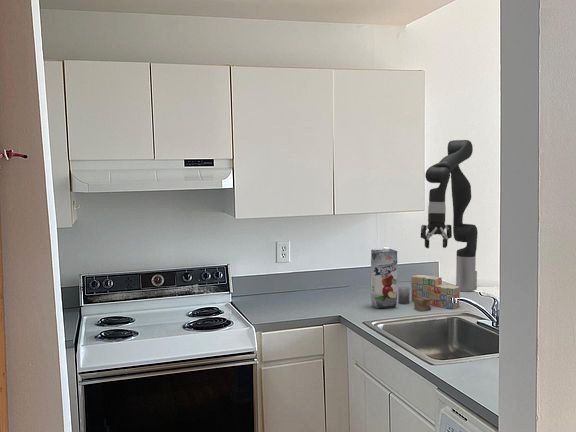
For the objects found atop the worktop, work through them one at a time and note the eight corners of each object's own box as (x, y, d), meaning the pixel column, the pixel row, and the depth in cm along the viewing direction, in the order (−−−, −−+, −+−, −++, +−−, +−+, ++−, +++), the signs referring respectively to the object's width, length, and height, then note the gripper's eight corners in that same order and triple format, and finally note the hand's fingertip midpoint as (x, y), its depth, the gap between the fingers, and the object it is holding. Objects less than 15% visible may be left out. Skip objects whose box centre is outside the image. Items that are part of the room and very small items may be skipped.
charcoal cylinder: (405, 301, 279) (405, 286, 278) (411, 303, 274) (411, 288, 274) (396, 302, 277) (396, 287, 276) (402, 304, 272) (402, 289, 272)
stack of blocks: (459, 307, 267) (460, 279, 266) (452, 309, 263) (452, 282, 262) (418, 299, 282) (418, 273, 281) (410, 302, 278) (411, 275, 277)
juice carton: (368, 305, 272) (369, 246, 269) (389, 303, 275) (390, 245, 272) (377, 309, 263) (377, 248, 261) (399, 307, 266) (399, 247, 264)
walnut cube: (423, 308, 266) (423, 296, 266) (430, 310, 262) (430, 299, 261) (414, 309, 264) (414, 298, 264) (421, 311, 260) (421, 300, 259)
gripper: (446, 211, 275) (445, 246, 276) (418, 211, 271) (417, 247, 272) (455, 212, 267) (454, 248, 268) (426, 212, 264) (425, 249, 265)
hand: (435, 247), depth 270 cm, fingers open, 8 cm apart
